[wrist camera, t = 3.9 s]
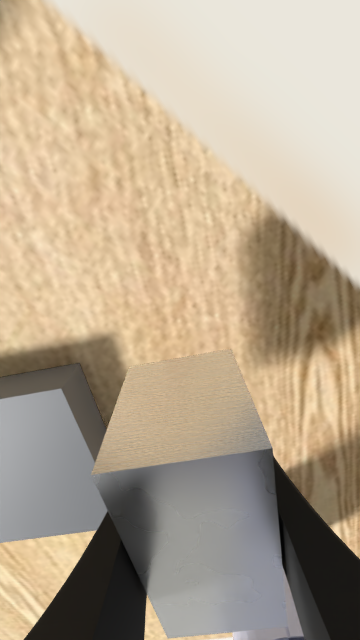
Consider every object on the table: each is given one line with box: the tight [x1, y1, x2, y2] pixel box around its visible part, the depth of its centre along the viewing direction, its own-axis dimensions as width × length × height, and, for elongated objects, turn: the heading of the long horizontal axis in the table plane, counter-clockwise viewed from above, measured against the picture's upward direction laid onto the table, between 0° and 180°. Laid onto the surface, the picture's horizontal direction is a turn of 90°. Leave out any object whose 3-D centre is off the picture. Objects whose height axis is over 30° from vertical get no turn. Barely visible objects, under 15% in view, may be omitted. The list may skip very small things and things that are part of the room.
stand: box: [0, 363, 108, 543], centre depth 20 cm, size 14×12×3 cm
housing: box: [91, 349, 288, 638], centre depth 10 cm, size 9×4×5 cm, turn 11°
